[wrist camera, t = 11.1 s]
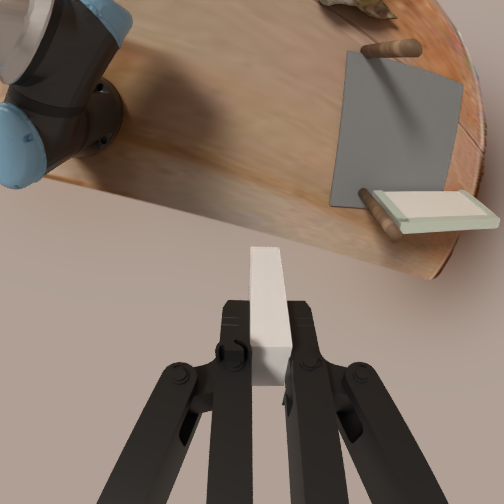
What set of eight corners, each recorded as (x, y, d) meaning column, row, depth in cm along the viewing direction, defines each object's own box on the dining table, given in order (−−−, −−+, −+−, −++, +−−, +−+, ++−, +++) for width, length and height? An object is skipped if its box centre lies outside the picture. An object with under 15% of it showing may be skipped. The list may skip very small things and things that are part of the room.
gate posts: (355, 196, 53) (387, 242, 40) (360, 44, 38) (404, 36, 24) (367, 196, 53) (402, 242, 39) (373, 46, 38) (422, 40, 24)
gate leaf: (372, 199, 51) (399, 234, 41) (372, 190, 50) (401, 223, 40) (463, 198, 50) (497, 227, 40) (465, 190, 49) (500, 219, 39)
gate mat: (328, 204, 54) (329, 205, 53) (346, 50, 38) (347, 50, 38) (434, 213, 54) (435, 215, 54) (461, 84, 39) (463, 84, 39)
